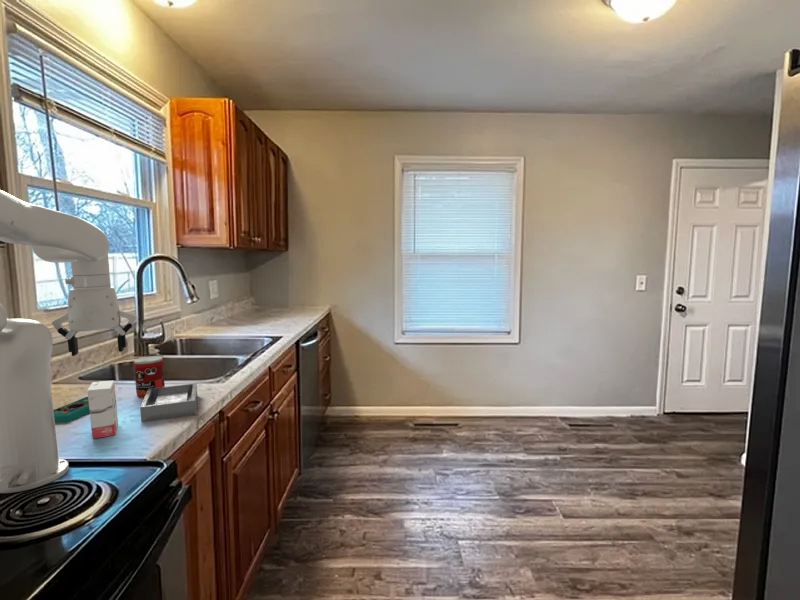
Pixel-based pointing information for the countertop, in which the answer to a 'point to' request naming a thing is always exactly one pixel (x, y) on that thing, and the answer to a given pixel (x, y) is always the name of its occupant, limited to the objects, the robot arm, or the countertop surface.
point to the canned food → (148, 374)
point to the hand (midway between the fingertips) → (98, 352)
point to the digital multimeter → (72, 411)
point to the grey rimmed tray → (169, 402)
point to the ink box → (102, 408)
